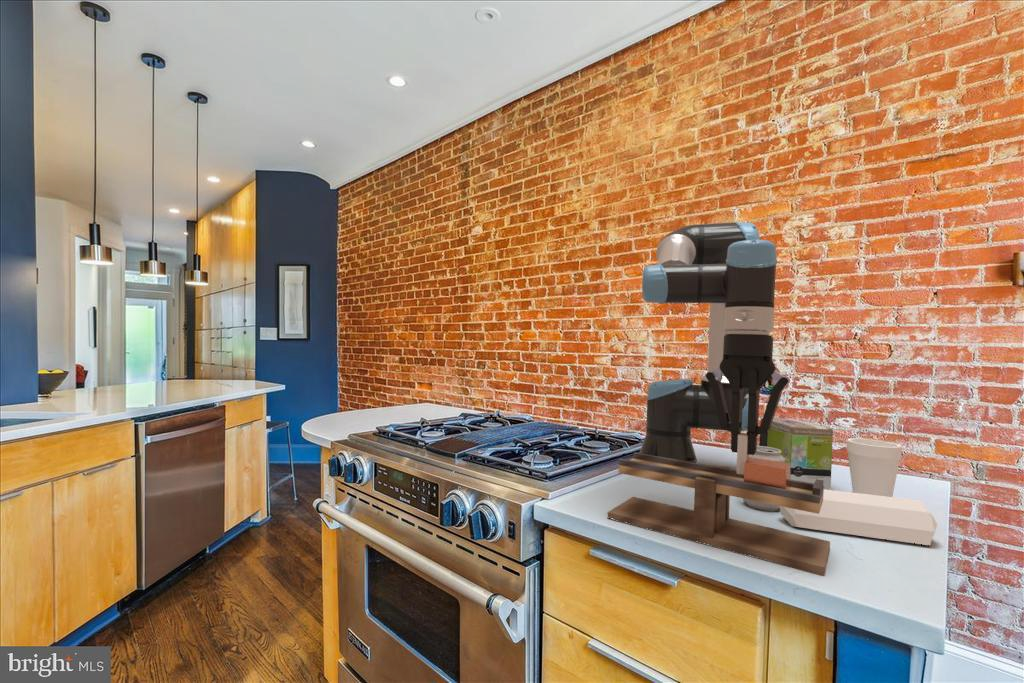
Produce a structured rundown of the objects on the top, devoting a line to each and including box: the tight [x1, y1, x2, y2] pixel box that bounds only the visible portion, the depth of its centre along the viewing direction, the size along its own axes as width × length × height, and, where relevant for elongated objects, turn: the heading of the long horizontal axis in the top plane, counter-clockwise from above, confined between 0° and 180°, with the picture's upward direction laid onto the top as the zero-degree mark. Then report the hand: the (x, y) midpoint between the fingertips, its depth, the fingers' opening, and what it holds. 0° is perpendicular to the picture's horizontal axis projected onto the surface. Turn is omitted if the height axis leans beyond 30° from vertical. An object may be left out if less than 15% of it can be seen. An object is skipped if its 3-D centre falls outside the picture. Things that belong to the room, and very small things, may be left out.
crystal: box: [779, 489, 938, 546], centre depth 87 cm, size 7×7×24 cm
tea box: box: [759, 417, 834, 490], centre depth 119 cm, size 15×10×15 cm
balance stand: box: [607, 464, 831, 577], centre depth 85 cm, size 34×12×10 cm, turn 53°
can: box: [742, 445, 785, 512], centre depth 100 cm, size 8×8×12 cm
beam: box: [617, 452, 824, 514], centre depth 85 cm, size 32×8×4 cm, turn 53°
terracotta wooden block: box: [744, 457, 791, 490], centre depth 80 cm, size 6×5×4 cm
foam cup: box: [846, 437, 903, 497], centre depth 104 cm, size 10×9×13 cm
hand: (742, 472), depth 82 cm, fingers closed
